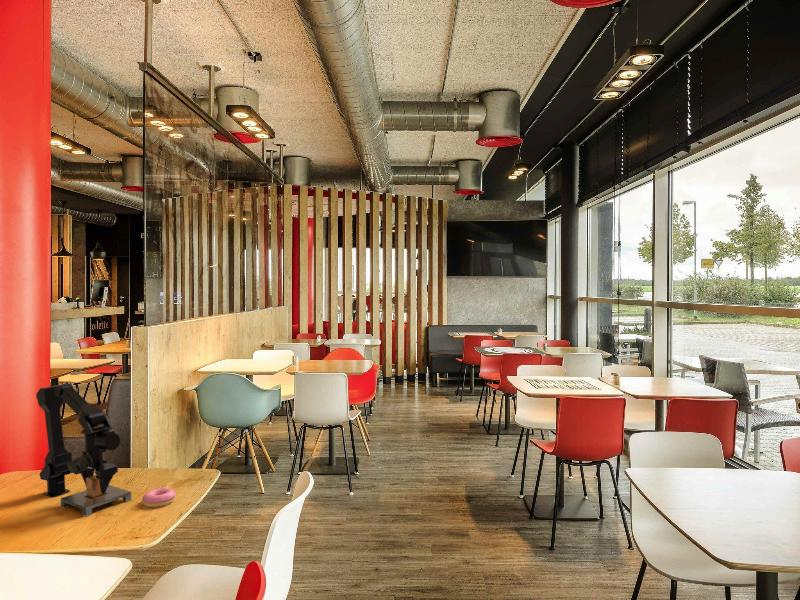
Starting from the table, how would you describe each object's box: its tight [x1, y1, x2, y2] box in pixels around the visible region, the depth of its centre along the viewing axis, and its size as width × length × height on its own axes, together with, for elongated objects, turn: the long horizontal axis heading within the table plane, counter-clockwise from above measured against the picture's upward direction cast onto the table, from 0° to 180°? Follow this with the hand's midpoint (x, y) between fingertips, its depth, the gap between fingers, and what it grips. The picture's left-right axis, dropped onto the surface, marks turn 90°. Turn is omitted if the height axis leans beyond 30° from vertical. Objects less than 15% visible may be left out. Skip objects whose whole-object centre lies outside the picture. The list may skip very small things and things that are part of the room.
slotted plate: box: [60, 484, 132, 517], centre depth 199 cm, size 16×16×3 cm
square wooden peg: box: [85, 474, 105, 499], centre depth 198 cm, size 4×4×10 cm
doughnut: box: [141, 487, 177, 508], centre depth 198 cm, size 11×11×4 cm
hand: (95, 490), depth 198 cm, fingers open, 9 cm apart
